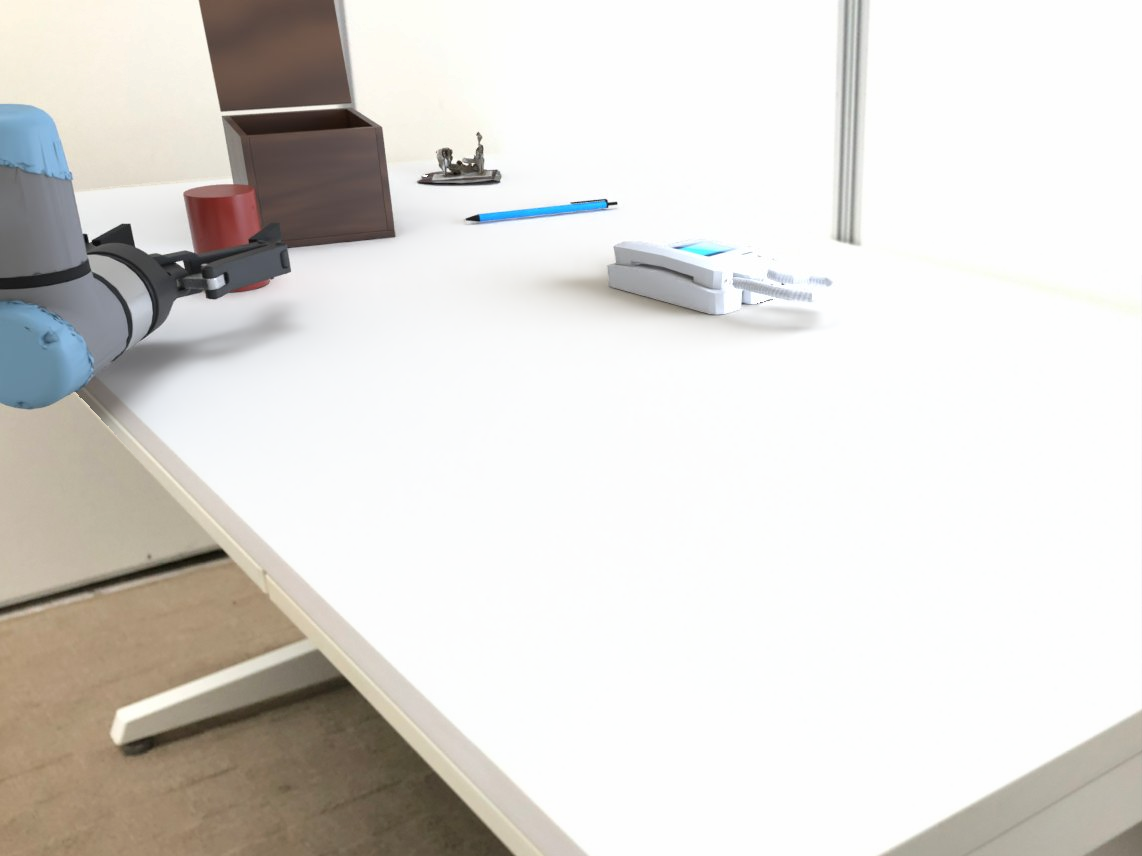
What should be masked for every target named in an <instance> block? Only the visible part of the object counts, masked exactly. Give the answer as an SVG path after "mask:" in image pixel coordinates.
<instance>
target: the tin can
mask: <svg viewBox="0 0 1142 856" xmlns="http://www.w3.org/2000/svg"><path fill="white" fill-rule="evenodd" d="M182 197H183V200H184V205H185V206H184V207H185V211H186V216H187V222H188V227H189V232H190V237H191V243H192V246H193V247H192V249H193V253H196V254H200V253H205V252H209V251H214V250H219V249H224V248H229V247H234V246H239V245H243V244H248V243H249V241H248V239H249V238H251V237H252V236H254V235H255V234H256V233H258V232H259V231H260V230H261V225H260V219H259V213H258V207H257V201H256V195H255V189H254V187H252V186H248V185H240V184H233V183H223V184H222V183H221V184H210V185H203V186H202V185H201V186H198V187H197V186H196V187H192V188H189V189H187V190H185V191H183V193H182ZM270 282H271V281H270V279H268V280H265V281H261V282H258V283H255V284H252V285H249V286H246V287H243V288H240V289H237V290H234V291H231V292H230V293H240V292H247V291H251V290H252V291H253V290H255V289H259V288H262V287H265V286H267V285H268V284H269V283H270ZM203 291H205V289H204V290H203Z"/></svg>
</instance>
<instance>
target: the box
mask: <svg viewBox="0 0 1142 856" xmlns="http://www.w3.org/2000/svg"><path fill="white" fill-rule="evenodd" d="M221 120H222V127H223V133H224V137H225V144H226V150H227V155H228V161H229V166H230V172H231V179H232V184H240V185H248V186H252V187H254V189H255V195H256V201H257V207H258V213H259V219H260V225H261V230H262V229H263V228H265V227H266V226H267V225H269V224H270V223H280V229H281V236H282V242H285V243H287V248H298V247H299V248H300V247H309V246H317V245H319V246H320V245H327V244H338V243H346V242H357V241H366V240H376V239H386V238H395V237H396V229H395V221H394V213H393V211H394V210H393V204H392V195H391V188H390V180H389V170H388V163H387V156H386V155H387V154H386V147H385V139H384V130H383V126H381V125H380V124H379V123H377V122H375V121H374V120H372V119H370V118H369V117H368V116H366V115H365V114H362V112H360V111H358V110H356V109H355V108H353V107H352V106H351V107H337V108H336V107H335V108H322V109H306V110H304V109H303V110H292V111H291V110H289V111H276V112H275V111H274V112H260V113H259V112H258V113H245V114H244V113H243V114H229V115H221Z"/></svg>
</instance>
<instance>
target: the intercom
mask: <svg viewBox="0 0 1142 856" xmlns="http://www.w3.org/2000/svg"><path fill="white" fill-rule="evenodd" d="M613 251H614V259H615V262H614V263H610V264H607V265H606V268H607V278H608V280H607V281H608V286H609V287H610V288H613V289H617V290H620V291H624V292H627V293H630V294H635V295H639V296H643V297H646V298H650V299H654V300H656V301H661V302H665V303H669V304H672V305H675V306H679V307H682V308H686V309H690V310H693V311H697V312H701V313H704V314H708V315H714V316H715V315H725V314H729V313H732V312H736V311H739V310H740V309H741V308H742V304H746V305H747V304H748V305H756V304H757V303H758V304H761V303H760V302H763V303H765V302H764V301H766V300H768V299H770V298H776V299H779V300H784V301H788V302H789V301H790V302H800V303H801V302H802V303H803V302H804V303H815V302H819V301H825V300H829V299H835V298H837V296H838V295H839V292H840V289H841V282H839V281H838V280H837V279H836V278H835V277H834V276H832V275H828V274H821V273H820V274H819V273H813V272H808V271H809V270H808V269H809V264H807V261H806V260H805V259H804V258H802V257H797V256H792V255H789V254H784V253H780V252H775V251H770V250H766V249H761V248H757V247H753V246H746V247H745V246H744V247H742V246H737V245H733V244H729V243H724V242H719V241H716V240H711V239H706V238H691V239H688V240H683V241H679V242H675V243H670V244H666V245H661V244H655V243H651V242H645V241H622V242H619V243H616V244H614V245H613ZM799 285H807V286H815V287H816V286H818V287H820V288H815V289H805V290H801V289H792V288H794V287H796V286H799ZM766 302H767V301H766ZM758 304H757V305H758Z"/></svg>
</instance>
